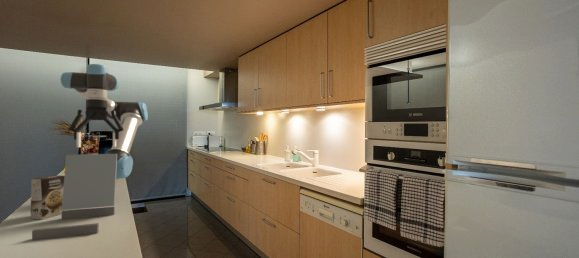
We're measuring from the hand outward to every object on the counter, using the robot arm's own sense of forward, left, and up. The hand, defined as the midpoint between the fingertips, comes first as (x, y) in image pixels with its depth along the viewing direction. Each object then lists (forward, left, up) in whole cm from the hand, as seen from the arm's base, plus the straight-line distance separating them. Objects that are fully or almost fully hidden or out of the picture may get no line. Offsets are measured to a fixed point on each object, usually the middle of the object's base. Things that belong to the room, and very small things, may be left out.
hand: (96, 147), depth 122 cm
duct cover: (+9, 0, -13) cm, 16 cm away
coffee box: (+4, -16, -28) cm, 33 cm away
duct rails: (+21, 0, -28) cm, 35 cm away
